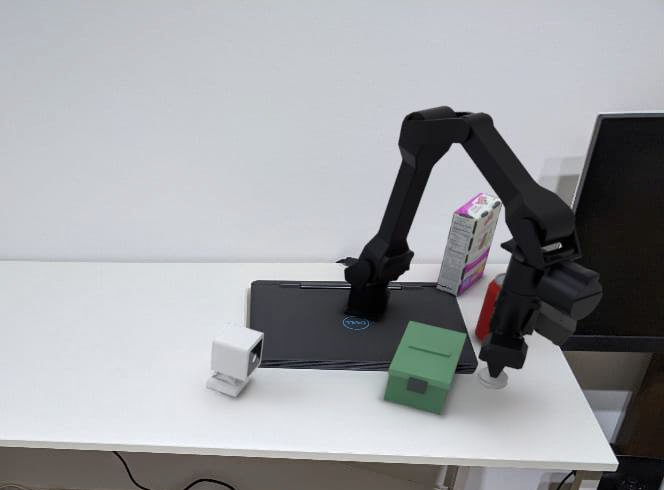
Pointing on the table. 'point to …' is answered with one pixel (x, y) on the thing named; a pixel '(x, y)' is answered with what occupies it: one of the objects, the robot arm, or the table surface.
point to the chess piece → (492, 379)
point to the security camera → (234, 358)
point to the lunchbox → (424, 367)
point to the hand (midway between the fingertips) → (494, 371)
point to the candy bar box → (469, 243)
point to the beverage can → (488, 307)
